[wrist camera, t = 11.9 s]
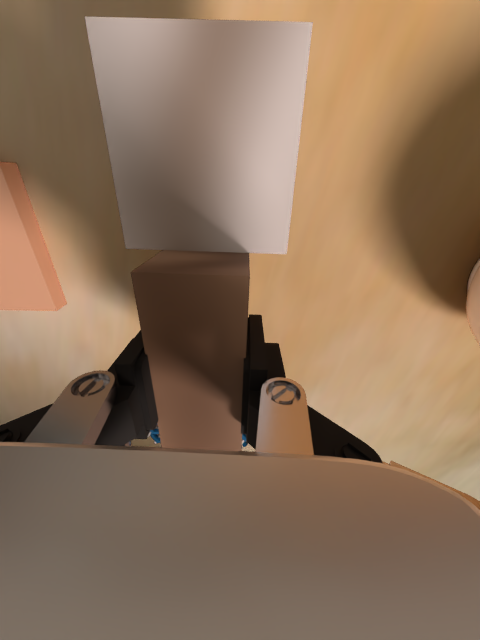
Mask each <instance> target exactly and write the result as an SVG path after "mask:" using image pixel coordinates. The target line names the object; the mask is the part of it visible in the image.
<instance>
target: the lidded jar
mask: <svg viewBox="0 0 480 640" xmlns="http://www.w3.org/2000/svg"><path fill="white" fill-rule="evenodd" d="M466 313H467V319H468V323H469V326H470V329H471V332H472V334H473V335H474V337H475V339H476V341H477V343H478V344H479V346H480V258H479V259H478V261H477V262H476V264H475V266H474V267H473V269H472V271H471V274H470V277H469V280H468V285H467V302H466Z"/></svg>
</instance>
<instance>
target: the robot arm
mask: <svg viewBox="0 0 480 640" xmlns="http://www.w3.org/2000/svg"><path fill="white" fill-rule="evenodd" d="M157 423H158V414H157V408H156V402H155V396H154V390H153V384H152V379H151V373H150V367H149V361H148V355H147V354H145V350H144V344H143V338H142V333H141V330H140V332H139V333H138V334H137V335H136V337H135V338H133V339H132V340H131V341H130V343H129V344H128V345H127V347H126V348H125V349H124V350H123V352H122V353H121V354H120V355H119V357H118V358H117V359H116V360H115V362H114V363H113V364H112V365H111V367H110V368H109V369H108V371H101V370H99V371H92V372H88V373H85V374H83V375H81V376H78V377H77V378H75V379H74V380H72V381H71V382H70V383H69V384H68V385H67V387H66V388H65V389H64V391H63V392H62V393H61V394H60V396H59V397H58V398H57V400H56V401H55V402H54V403H53V404H51V405H48V406H46V407H44V408H41V409H39V410H36V411H34V412H32V413H29V414H27V415H25V416H22V417H20V418H17V419H15V420H13V421H10V422H8V423H5V424H3V425H1V426H0V640H480V501H478V500H477V499H475V498H473V497H471V496H470V495H468V494H465V493H463V492H461V491H459V490H456V489H454V488H452V487H449V486H447V485H445V484H443V483H440V482H438V481H436V480H434V479H431V478H429V477H427V476H425V475H422V474H420V473H418V472H416V471H413V470H411V469H409V468H407V467H404V466H402V465H400V464H398V463H395V462H393V461H390V463H389V464H388V463H385V462H383V461H382V460H381V458H380V457H379V455H378V454H377V453H376V452H375V451H374V449H372V448H371V447H370V446H369V445H367V444H366V443H364V442H363V441H361V440H360V439H358V438H357V437H355V436H354V435H352V434H351V433H349V432H348V431H346V430H345V429H343V428H342V427H340V426H338V425H337V424H335V423H334V422H332V421H331V420H329V419H328V418H326V417H325V416H323V415H322V414H320V413H319V412H317V411H316V410H314V409H312V408H311V407H309V406H308V405H307V400H306V394H305V391H304V389H303V388H302V386H301V385H300V384H298V383H297V382H295V381H293V380H291V379H288V378H286V376H285V371H284V367H283V362H282V357H281V352H280V348H279V344H278V343H265V342H264V333H263V325H262V316H261V315H250V314H249V318H248V322H247V343H246V358H244V364H243V388H242V411H241V434H246V443H249V444H250V445H251V446H252V447H253V448H254V449H255V450H256V451H255V452H247V451H226V450H205V449H182V448H158V447H134V446H131V440H133V439H147V437H148V435H149V432H150V430H154V429H155V428H156V425H157Z"/></svg>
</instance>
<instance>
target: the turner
mask: <svg viewBox="0 0 480 640" xmlns="http://www.w3.org/2000/svg"><path fill="white" fill-rule="evenodd" d="M85 21H86V27H87V33H88V38H89V44H90V50H91V55H92V61H93V67H94V72H95V78H96V83H97V89H98V95H99V100H100V106H101V112H102V117H103V123H104V129H105V134H106V140H107V145H108V151H109V157H110V162H111V168H112V174H113V179H114V185H115V191H116V196H117V202H118V207H119V213H120V219H121V224H122V230H123V236H124V241H125V247H126V249H149V250H162V251H161V252H160V253H158V254H157V255H155V256H154V257H152V258H151V259H149V260H148V261H146V262H145V263H143V264H142V265H141V266H139V267H138V268H136V269H135V270H133V271H132V272H131V276H132V281H133V287H134V293H135V298H136V304H137V310H138V315H139V321H140V327H141V333H142V338H143V344H144V350H145V354H147V355H148V361H149V367H150V373H151V379H152V384H153V390H154V396H155V402H156V408H157V414H158V423H157V424H158V429H159V435H160V441H161V446H162V448H182V449H205V450H226V451H241V449H242V434H241V411H242V388H243V364H244V358H246V343H247V322H248V301H249V280H250V271H249V253H266V254H287V247H288V238H289V229H290V220H291V211H292V202H293V193H294V184H295V175H296V167H297V158H298V149H299V140H300V131H301V122H302V113H303V104H304V95H305V87H306V78H307V69H308V60H309V51H310V42H311V33H312V24H313V22H284V21H244V20H204V19H164V18H124V17H85Z"/></svg>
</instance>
